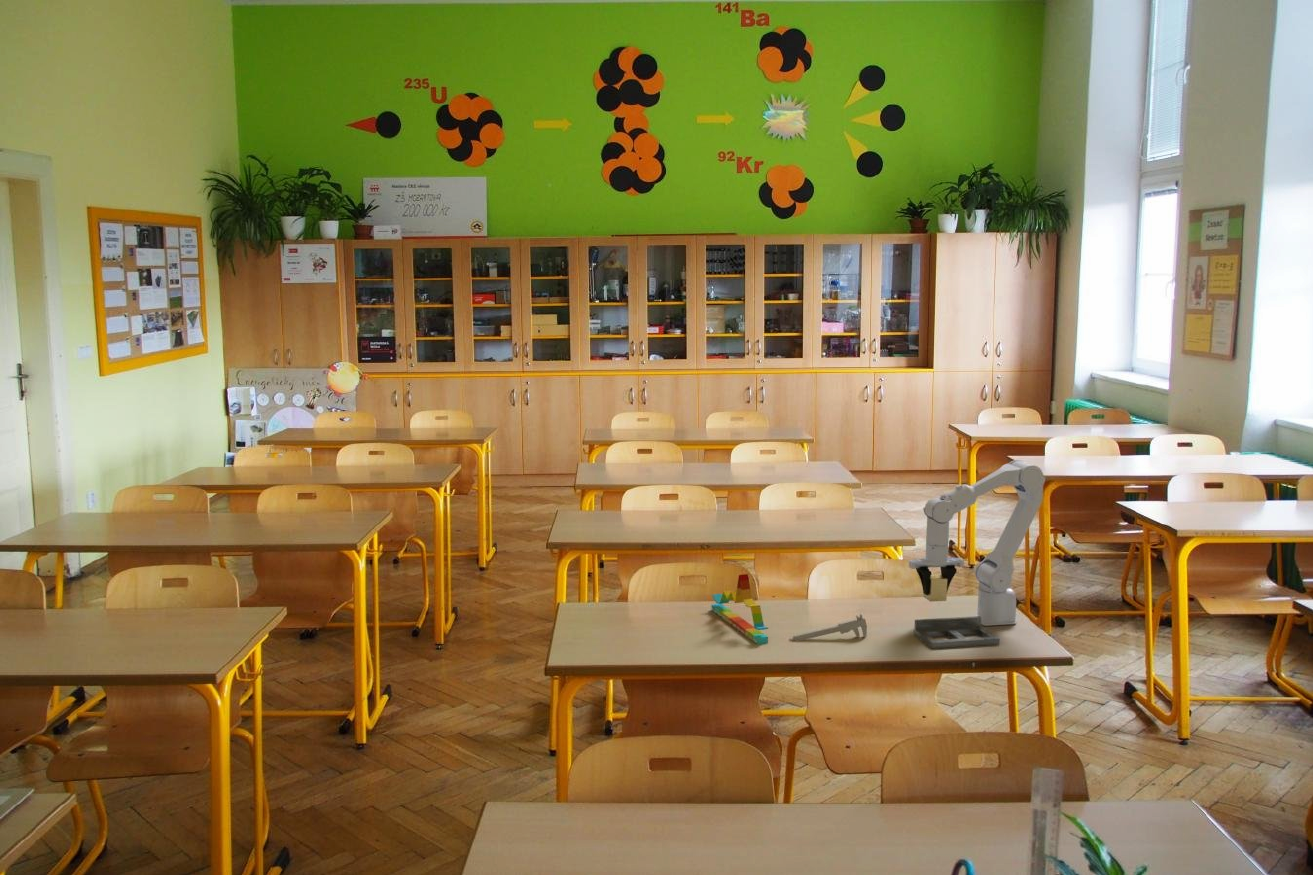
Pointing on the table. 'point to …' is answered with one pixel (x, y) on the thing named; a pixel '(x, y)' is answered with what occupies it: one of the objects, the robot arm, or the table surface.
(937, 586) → the brass block
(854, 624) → the caliper
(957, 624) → the grey tray
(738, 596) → the rainbow striped peaked bar
